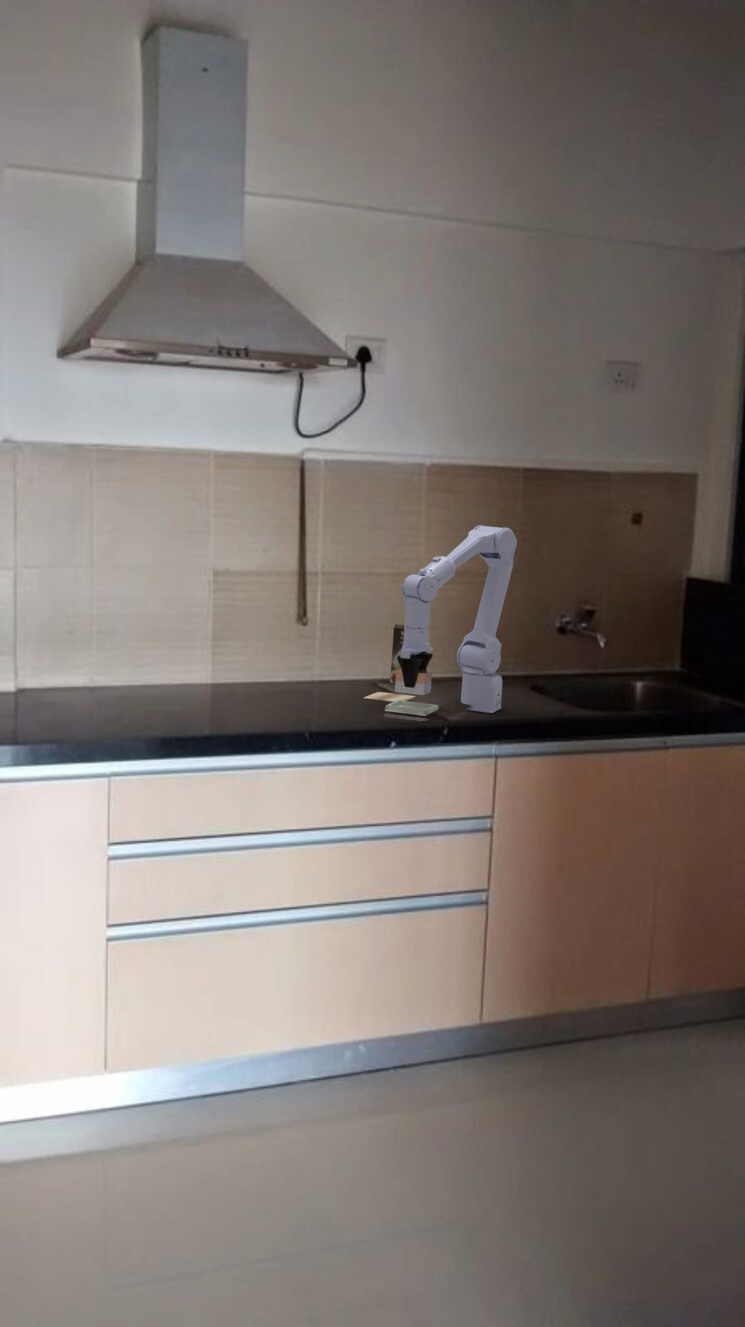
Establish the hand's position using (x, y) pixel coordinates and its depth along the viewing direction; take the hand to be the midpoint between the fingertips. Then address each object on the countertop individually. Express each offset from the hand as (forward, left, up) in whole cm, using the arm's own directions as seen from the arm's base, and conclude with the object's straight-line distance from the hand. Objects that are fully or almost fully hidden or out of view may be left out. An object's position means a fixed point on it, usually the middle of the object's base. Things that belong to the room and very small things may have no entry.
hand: (413, 685), depth 306 cm
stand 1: (+10, -12, -7) cm, 17 cm away
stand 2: (0, 0, -7) cm, 7 cm away
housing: (0, 0, -2) cm, 2 cm away
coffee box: (+14, -36, -7) cm, 39 cm away
